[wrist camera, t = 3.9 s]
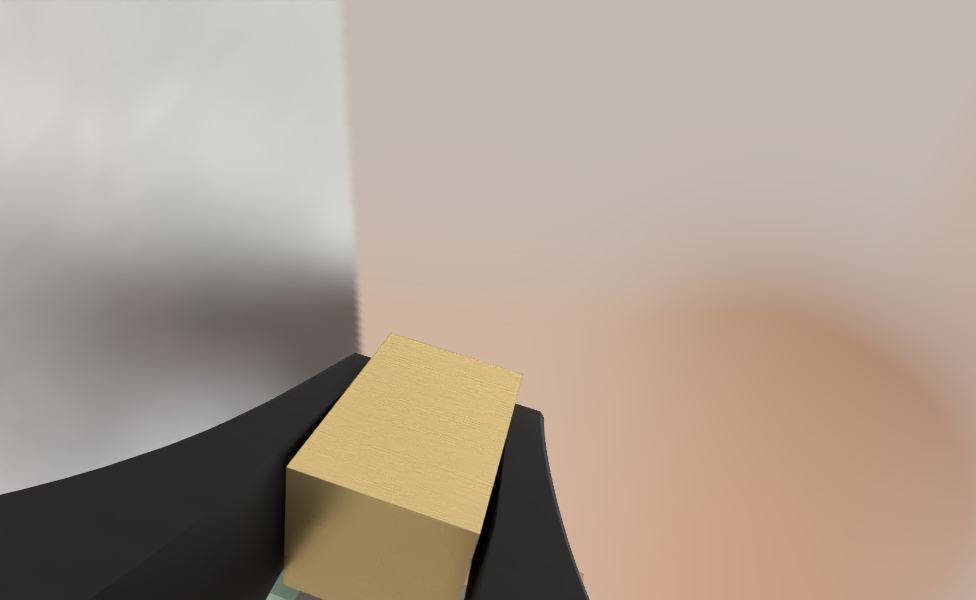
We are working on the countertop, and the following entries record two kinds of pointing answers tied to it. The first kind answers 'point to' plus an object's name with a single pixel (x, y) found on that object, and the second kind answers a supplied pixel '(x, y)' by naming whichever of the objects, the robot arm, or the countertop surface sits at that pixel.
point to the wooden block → (398, 477)
